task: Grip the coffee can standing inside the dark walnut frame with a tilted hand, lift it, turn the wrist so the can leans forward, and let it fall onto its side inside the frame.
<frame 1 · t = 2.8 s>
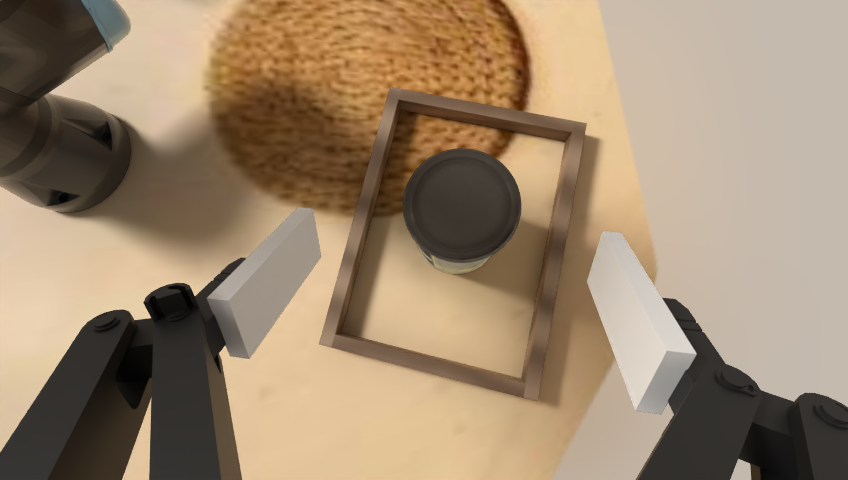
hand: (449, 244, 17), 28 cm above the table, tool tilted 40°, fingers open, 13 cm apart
walnut frame: (456, 234, 45), on the table
coffee can: (456, 234, 45), resting in walnut frame
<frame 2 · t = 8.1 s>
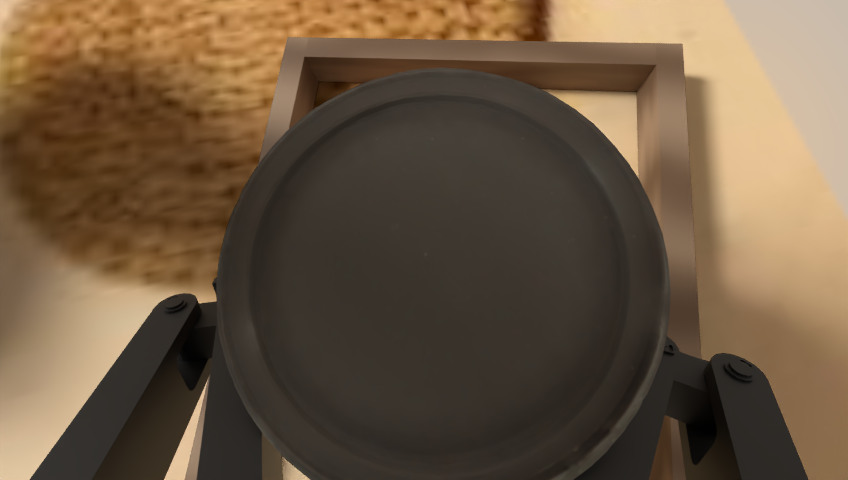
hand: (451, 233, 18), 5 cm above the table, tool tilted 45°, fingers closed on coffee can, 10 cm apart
walnut frame: (448, 303, 22), on the table
coffee can: (448, 303, 22), resting in walnut frame, touching gripper
when the fingers open (6 cm above the table, at t = 14.4 s): coffee can moves 4 cm, point 5 cm above the table.
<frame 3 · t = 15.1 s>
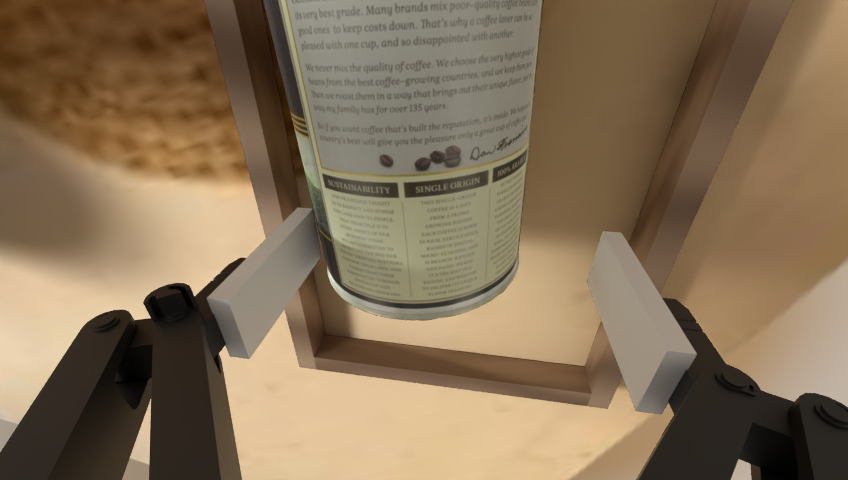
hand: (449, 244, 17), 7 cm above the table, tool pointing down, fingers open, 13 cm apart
walnut frame: (459, 185, 23), on the table
coffee can: (422, 259, 20), point 5 cm above the table, touching gripper
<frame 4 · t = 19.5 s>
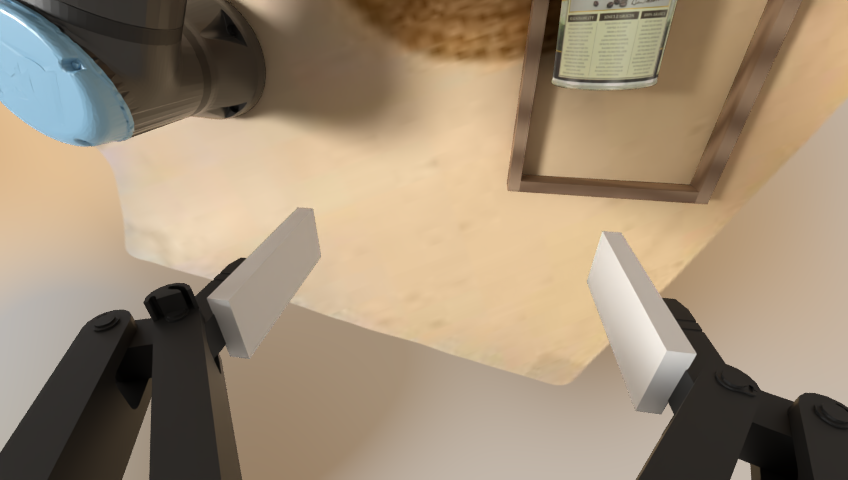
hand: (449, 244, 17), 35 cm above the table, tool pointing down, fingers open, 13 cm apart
walnut frame: (637, 55, 41), on the table
coffee can: (600, 84, 38), point 5 cm above the table
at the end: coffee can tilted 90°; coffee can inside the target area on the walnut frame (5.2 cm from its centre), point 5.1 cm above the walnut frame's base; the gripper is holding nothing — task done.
